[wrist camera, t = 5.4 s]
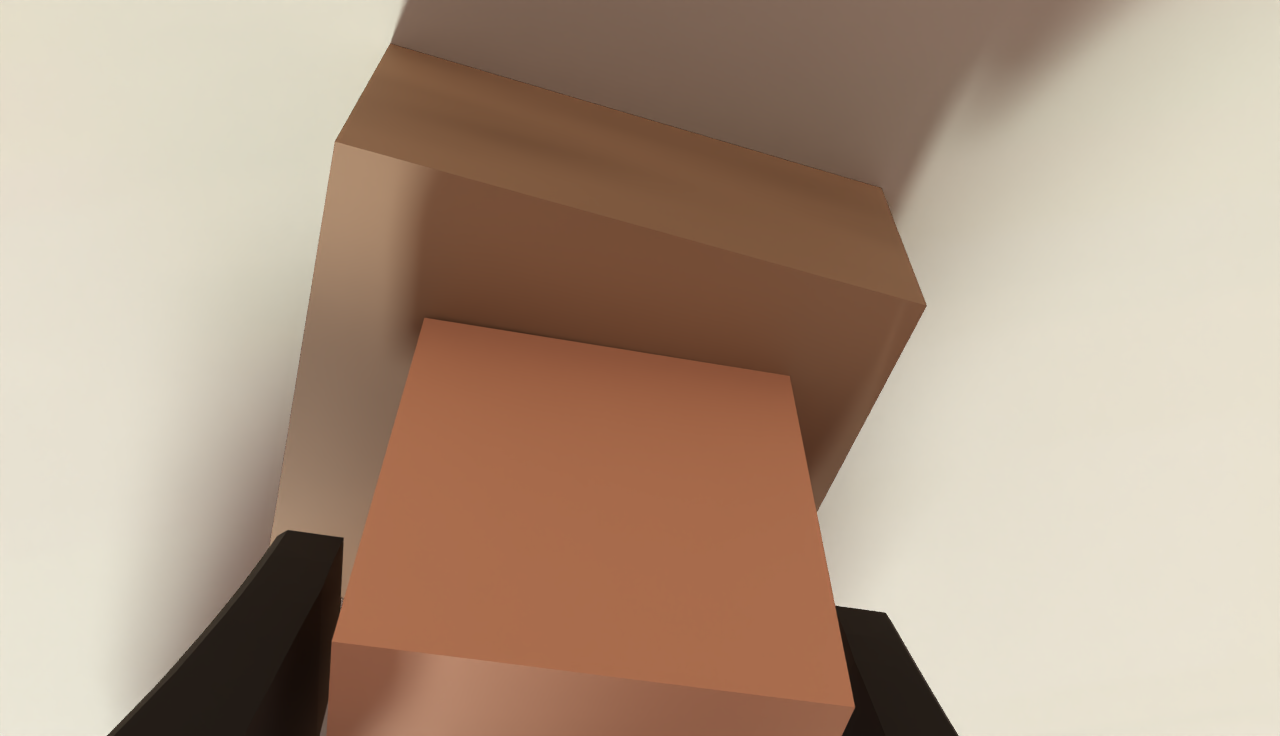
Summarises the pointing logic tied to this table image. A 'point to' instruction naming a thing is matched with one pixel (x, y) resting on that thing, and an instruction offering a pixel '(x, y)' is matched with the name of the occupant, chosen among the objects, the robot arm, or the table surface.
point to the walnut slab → (575, 265)
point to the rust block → (588, 552)
